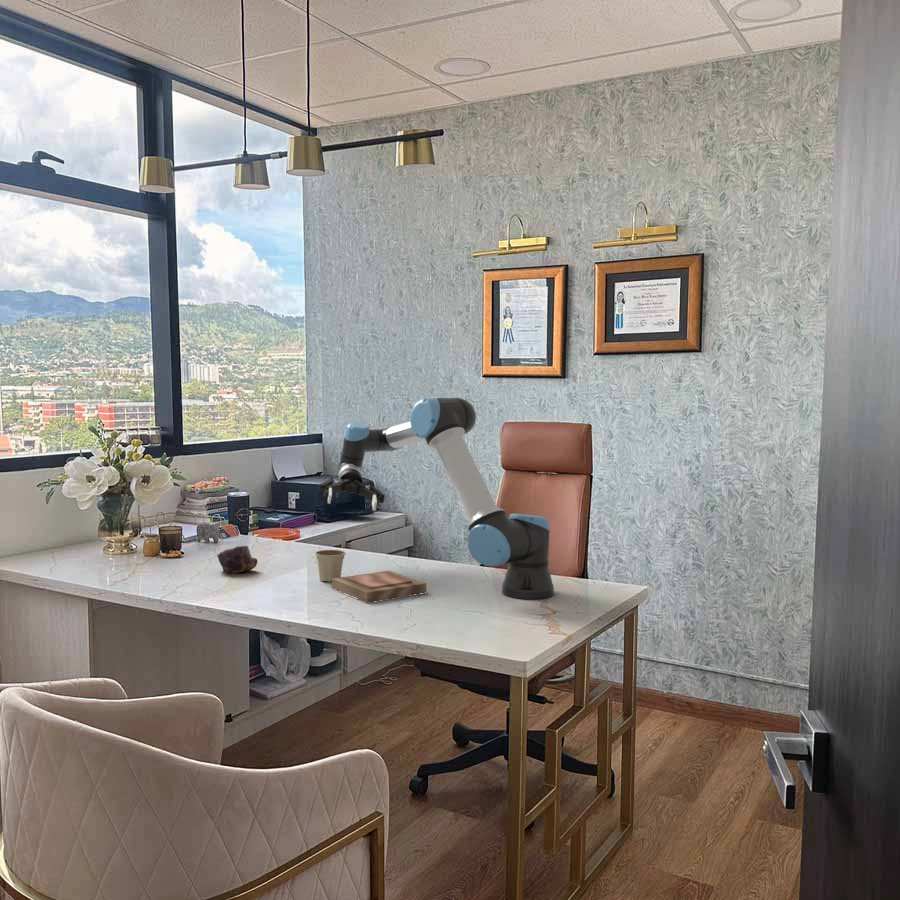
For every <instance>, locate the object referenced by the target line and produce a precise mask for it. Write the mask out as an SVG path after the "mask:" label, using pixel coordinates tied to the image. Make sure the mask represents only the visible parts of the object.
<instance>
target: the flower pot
mask: <svg viewBox="0 0 900 900" xmlns="http://www.w3.org/2000/svg"><path fill="white" fill-rule="evenodd" d="M346 553H347V552H346V551H345V550H341V549H339V550H338V549H322V550H318V551H315V552H314V555H315V556H316V557H315V558H316V560H317V567H318V573H319V580H321V581H320V582H323V581H325V582H327V583H332V582H331V581H332V579H333V578H340V577H341V576H342V570H343V563H344V559H345V555H346Z"/></svg>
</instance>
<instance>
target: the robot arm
mask: <svg viewBox="0 0 900 900" xmlns="http://www.w3.org/2000/svg"><path fill="white" fill-rule="evenodd" d="M476 422H477V413H476V409H475V408H474V406H473V405H472V403H470V402H469V401H468V400H466V399H464V398H461V397H434V396H431V397H425V398H421V399H420V400H418V401H417V402H416V403H415V404H414V405H413V407H412V410H411V413H410V417H409V421H404V422H402V423H397V424H396V425H391V426H388V427H385V428H380V429H379V428H378V429H377V428H376V429H370V427H369V426H368V425H366V424H365V423H360V422H350V423H348V424H347V425H346V429H345V432H344V434H343V435H344V438H343V443H342V449H341V454H340V458H339V461H338V465H337V471H338V472H337V473H338V480H336V479H335V478H334V477H330V478H329V479H327V480H326V481H324V482H322V483H320V484H319V485H318V492H317V493H319V494H323V498H327V504H329V505H331V501H332V496H333V494H337V493H345V494H348V495H351V494H356V495H357V496H359V497H360V496H361V497H364V498H365V499H368V500H369V501H371V506H372V511H373V512H375V511H376V509H377V506H379V504H384V501H385V494H384V493H382V492H381V491H380V490H379V489H377V488H376V487H375V486H374V484H373V483H369V484H368V485H366V484H364V483H363V482H364V481H363V474H362V469H363V468H362V467H363V462H364V459H365V454H366V453H372V452H373V453H374V452H393V451H394V452H395V451H397V450H399V449H400V448H401V447H405V446H409V445H413V444H416V443H420V442H424V441H425V442H426V445H428V448H429V449H430V450H433V451H435V452H436V453H437V454H438V457H439V459H440V462H441V464H442V466H443V467H444V469H445V472H446V474H447V475H448V477H449V480H450V482H451V484H452V486H453V488H454V490H455V492H456V495H457V497H458V498H459V501H460V503H461V505H462V506H463V509H464V511H465V512H466V515H467V517H468V519H469V523H468V526H467V530H468V531H469V532H468V534H467V540H468V541H467V548H468V552H469V553H470V555H471V557H472V558H473V559H474V560H475V561H476V562H477V563H478V564H480V565H483V566H487V567H492V566H493V567H495V566H497V567H498V566H502V565H504V564H508V566H507V570H506V573H505V576H504V580H503V582H502V585H501V593H502V594H503V595H504V596H506V597H510V598H515V599H524V600H540V599H548V598H551V597H553V596H554V595H555V594H554V593H555V586H554V583H553V582H552V581H553V580H552V576H551V575H552V574H551V572H550V569H549V554H550V553H549V552H550V532H551V529H550V521H549V519H548V518H547V517H545V516H540V515H533V514H524V513H510V515H509V516H508V514H507V512H506V510H505V509H503V508H499V507H498V506H497V504H496V502H495V501H494V500H495V499H494V498H493V496H492V494H491V493H490V490H489V488H488V486H487V484H486V482H485V480H484V479H483V476H482V474H481V472H480V470H479V468H478V466H477V464H476V462H475V459H474V458H473V456H472V453H471V451H470V450H469V448H468V446H467V444H466V442H465V439H464V436H465V435H466V434H468V433H469V432H471V431H472V430H473V429H474V427H475V425H476Z"/></svg>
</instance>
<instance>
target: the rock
mask: <svg viewBox="0 0 900 900" xmlns="http://www.w3.org/2000/svg"><path fill="white" fill-rule="evenodd" d="M250 551H251V550H250V549H249V546H248V545H239V546H238V545H237V546H235V547H233V548H230V549H229V548H227V549H225V550H223V551H221V552H219V553H218V554H217V559H218V562H219V564H220V566H221V568H222V570H223V571H225V572H226V573H227V574H232V575H233V574H238V573H241V572H242V573H243V572H251V570H253V569H255V568H256V567H257V564H258V561H259V560H258V559H257V558H255V557H252V555H251V552H250Z"/></svg>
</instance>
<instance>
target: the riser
mask: <svg viewBox="0 0 900 900" xmlns="http://www.w3.org/2000/svg"><path fill="white" fill-rule="evenodd" d="M332 588H333V589H332ZM331 589H332V590H334V589H336V590H338V591H341V592H343V593H346V594H348V595H350V596H349V597H351V596H353V597H356V598H358V599H360V600H362V601H361V602H363V601H365V602H371V603H375V602H374V601H378V602H381V601H380V600H384V601H387V600H386V599H390V600H393V599H392V598H396V599H399V598H398V597H402V598H405V597H404V596H408V597H410V596H409V595H414V594H420V593H425V592H426V593H427V582H424V581H421V580H418V579H415V578H412V577H410V576H406V575H404V574H400V573H397V572H395V571H391V570H383V571H378V572H377V571H376V572H370V573H363V574H355V575H349V576H342V577H340V578H333V579H332V582H331ZM336 590H335V591H336ZM338 591H337V592H338ZM341 592H340V593H341ZM343 593H342V594H343ZM346 594H345V595H346ZM348 595H347V596H348ZM420 595H421V594H420ZM414 596H415V595H414ZM353 597H352V598H353ZM358 599H357V600H358ZM360 600H359V601H360ZM365 602H364V603H365Z"/></svg>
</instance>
